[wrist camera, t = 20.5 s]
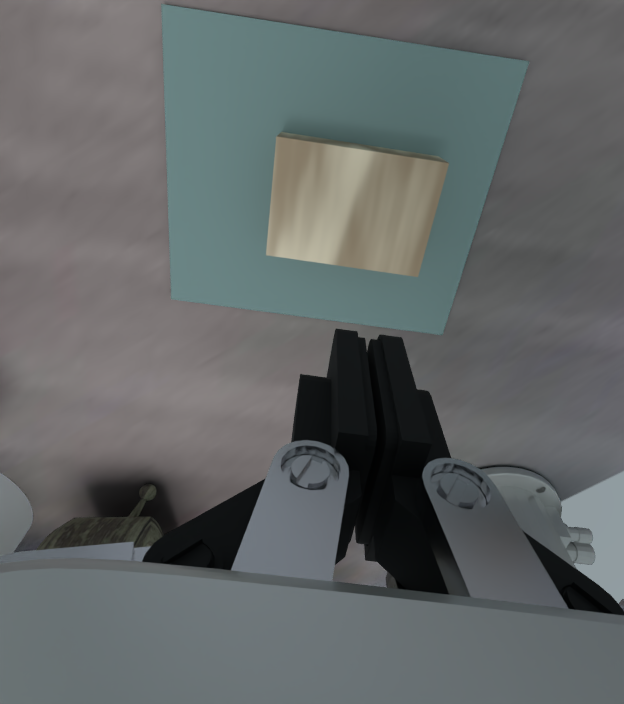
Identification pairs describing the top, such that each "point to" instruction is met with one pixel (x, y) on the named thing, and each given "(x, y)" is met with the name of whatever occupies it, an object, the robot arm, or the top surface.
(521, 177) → the top surface
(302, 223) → the wooden block
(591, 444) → the top surface
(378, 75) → the teal rectangular mat
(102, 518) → the tabletop clock
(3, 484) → the canister
